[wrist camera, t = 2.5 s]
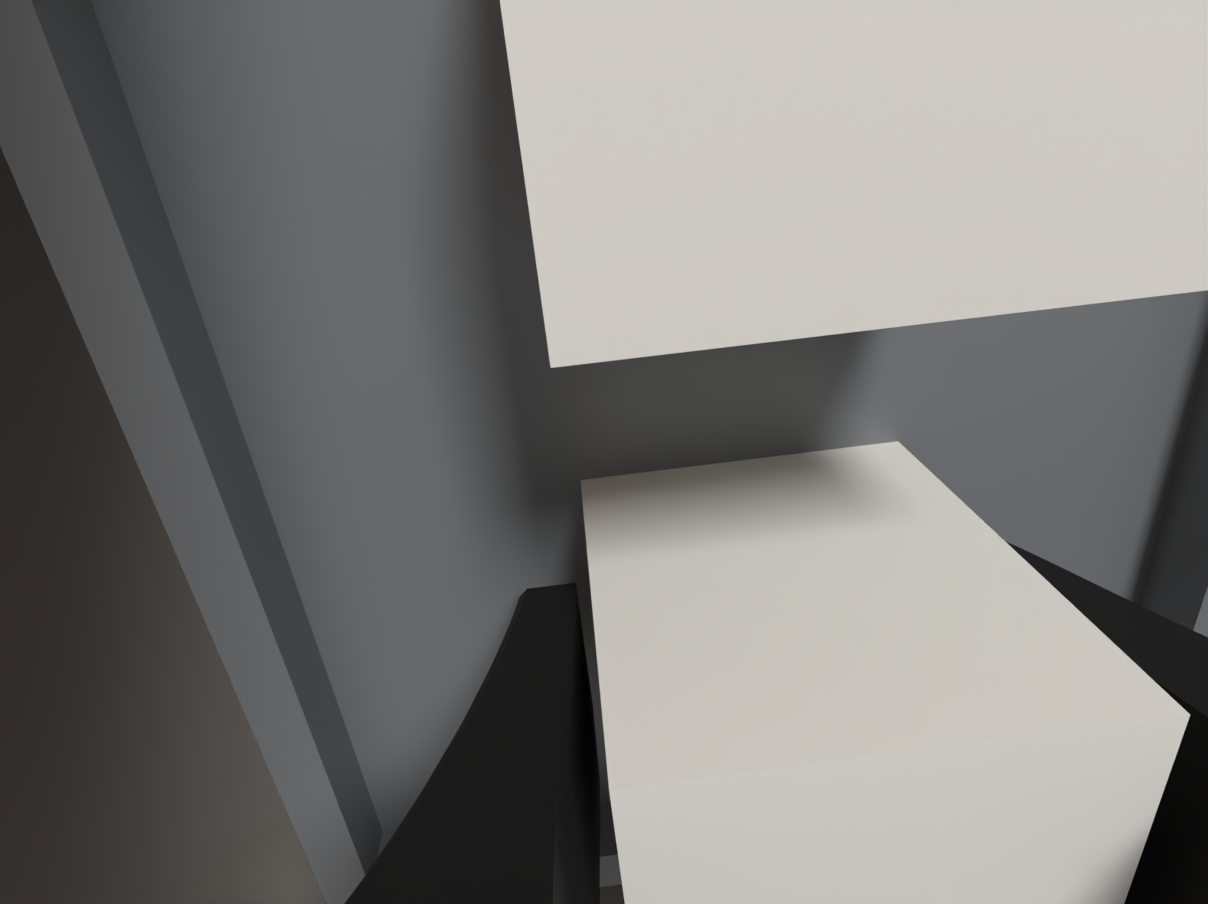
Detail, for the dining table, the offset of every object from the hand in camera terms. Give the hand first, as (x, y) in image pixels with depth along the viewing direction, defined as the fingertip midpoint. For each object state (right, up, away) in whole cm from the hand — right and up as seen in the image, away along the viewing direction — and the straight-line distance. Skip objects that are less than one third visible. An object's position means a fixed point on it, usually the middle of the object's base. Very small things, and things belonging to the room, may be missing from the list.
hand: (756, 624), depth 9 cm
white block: (0, 0, +1) cm, 1 cm away
